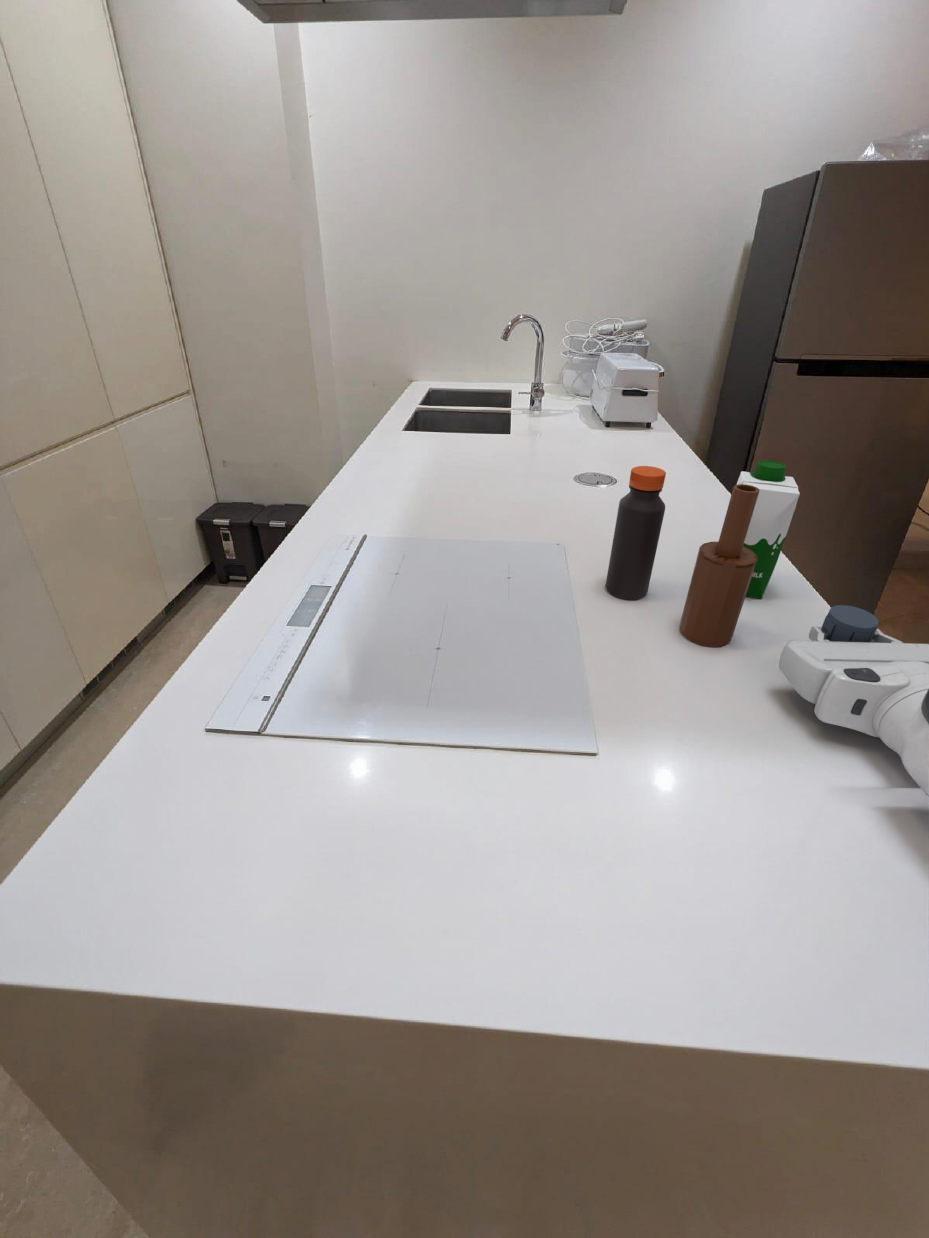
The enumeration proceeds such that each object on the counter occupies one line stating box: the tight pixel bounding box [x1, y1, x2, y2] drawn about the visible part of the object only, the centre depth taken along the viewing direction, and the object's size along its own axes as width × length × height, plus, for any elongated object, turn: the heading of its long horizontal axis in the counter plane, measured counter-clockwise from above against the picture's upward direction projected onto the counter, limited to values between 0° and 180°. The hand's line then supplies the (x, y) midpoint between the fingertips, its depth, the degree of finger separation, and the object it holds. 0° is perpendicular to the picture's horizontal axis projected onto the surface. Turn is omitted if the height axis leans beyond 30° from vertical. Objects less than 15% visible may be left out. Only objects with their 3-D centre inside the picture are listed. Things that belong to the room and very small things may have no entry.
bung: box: [821, 604, 880, 643], centre depth 75 cm, size 5×5×8 cm
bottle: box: [679, 484, 760, 648], centre depth 79 cm, size 7×7×22 cm
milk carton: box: [736, 459, 801, 600], centre depth 92 cm, size 9×9×20 cm
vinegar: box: [605, 465, 667, 600], centre depth 90 cm, size 7×7×20 cm
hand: (841, 631), depth 75 cm, fingers closed on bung, 5 cm apart
